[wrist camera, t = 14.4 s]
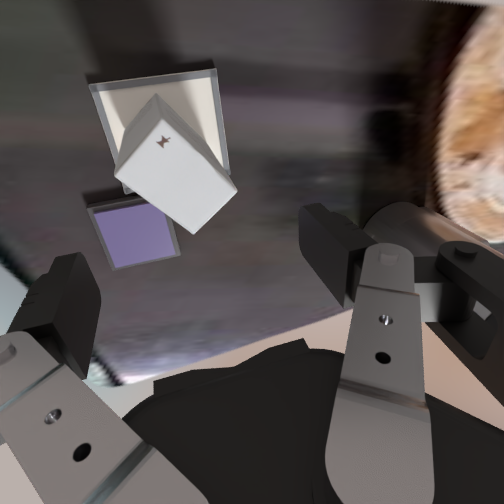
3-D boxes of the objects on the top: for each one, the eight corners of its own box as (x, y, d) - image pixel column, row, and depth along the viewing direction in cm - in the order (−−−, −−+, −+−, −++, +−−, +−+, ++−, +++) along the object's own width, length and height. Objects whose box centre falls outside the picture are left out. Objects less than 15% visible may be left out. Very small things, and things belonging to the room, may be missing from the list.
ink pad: (164, 189, 31) (165, 195, 29) (180, 250, 34) (181, 257, 33) (88, 204, 29) (85, 210, 28) (113, 265, 33) (112, 273, 32)
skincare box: (122, 130, 27) (108, 174, 17) (155, 91, 26) (161, 113, 16) (178, 178, 30) (194, 237, 20) (209, 144, 29) (241, 190, 19)
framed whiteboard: (215, 68, 27) (216, 68, 26) (229, 172, 32) (230, 174, 31) (89, 84, 25) (88, 84, 24) (125, 191, 30) (125, 194, 29)
